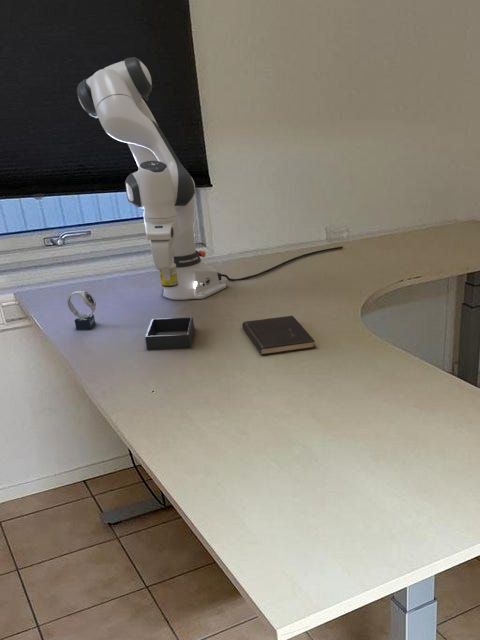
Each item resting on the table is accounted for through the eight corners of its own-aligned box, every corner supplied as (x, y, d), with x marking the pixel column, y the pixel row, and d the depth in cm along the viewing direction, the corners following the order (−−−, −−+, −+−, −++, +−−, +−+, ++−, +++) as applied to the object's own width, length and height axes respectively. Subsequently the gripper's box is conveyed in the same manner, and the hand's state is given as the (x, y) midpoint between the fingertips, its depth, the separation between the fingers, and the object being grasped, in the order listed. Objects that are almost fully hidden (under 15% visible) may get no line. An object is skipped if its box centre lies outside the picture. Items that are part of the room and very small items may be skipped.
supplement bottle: (163, 284, 214) (158, 254, 210) (179, 283, 215) (175, 254, 210) (160, 289, 210) (156, 259, 206) (177, 289, 211) (173, 259, 206)
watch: (97, 329, 228) (90, 294, 223) (70, 330, 228) (63, 294, 222) (101, 323, 233) (95, 288, 227) (75, 323, 233) (68, 289, 227)
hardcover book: (293, 322, 232) (292, 315, 231) (315, 348, 214) (314, 340, 213) (242, 329, 228) (241, 321, 227) (260, 356, 209) (260, 348, 208)
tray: (153, 331, 227) (151, 318, 225) (194, 329, 228) (192, 317, 226) (147, 350, 214) (145, 336, 212) (190, 348, 215) (188, 334, 213)
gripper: (154, 218, 212) (161, 266, 220) (145, 235, 195) (153, 287, 202) (177, 217, 213) (183, 265, 220) (169, 234, 196) (176, 287, 203)
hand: (168, 276), depth 211 cm, fingers closed on supplement bottle, 5 cm apart
